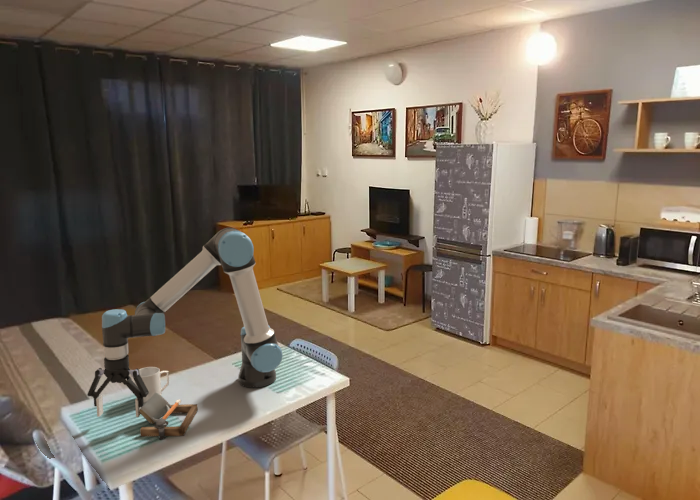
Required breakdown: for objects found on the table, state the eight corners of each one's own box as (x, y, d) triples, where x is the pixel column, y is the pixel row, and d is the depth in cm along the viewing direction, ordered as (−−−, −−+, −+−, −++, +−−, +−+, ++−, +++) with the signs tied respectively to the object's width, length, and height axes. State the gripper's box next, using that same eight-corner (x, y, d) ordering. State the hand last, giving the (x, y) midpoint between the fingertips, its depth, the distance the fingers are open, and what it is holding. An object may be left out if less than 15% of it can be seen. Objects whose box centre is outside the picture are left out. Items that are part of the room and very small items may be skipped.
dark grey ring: (171, 434, 160) (170, 420, 160) (166, 442, 156) (165, 427, 155) (157, 434, 160) (156, 420, 160) (152, 442, 156) (151, 428, 155)
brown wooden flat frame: (197, 410, 176) (197, 404, 176) (183, 435, 160) (183, 428, 159) (158, 411, 176) (158, 404, 175) (140, 436, 159) (140, 429, 159)
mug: (138, 406, 179) (136, 378, 177) (134, 397, 186) (132, 370, 184) (172, 398, 185) (170, 371, 183) (167, 389, 193) (165, 363, 191)
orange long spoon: (183, 402, 172) (183, 399, 171) (163, 426, 156) (163, 423, 156) (175, 402, 172) (175, 399, 172) (154, 425, 156) (154, 422, 156)
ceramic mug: (148, 424, 169) (134, 408, 167) (167, 406, 174) (154, 390, 172) (157, 428, 161) (142, 411, 159) (177, 409, 166) (163, 392, 164)
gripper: (157, 352, 167) (159, 410, 171) (85, 350, 166) (88, 408, 170) (148, 360, 160) (151, 421, 163) (73, 359, 159) (77, 419, 163)
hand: (119, 415), depth 167 cm, fingers open, 12 cm apart
